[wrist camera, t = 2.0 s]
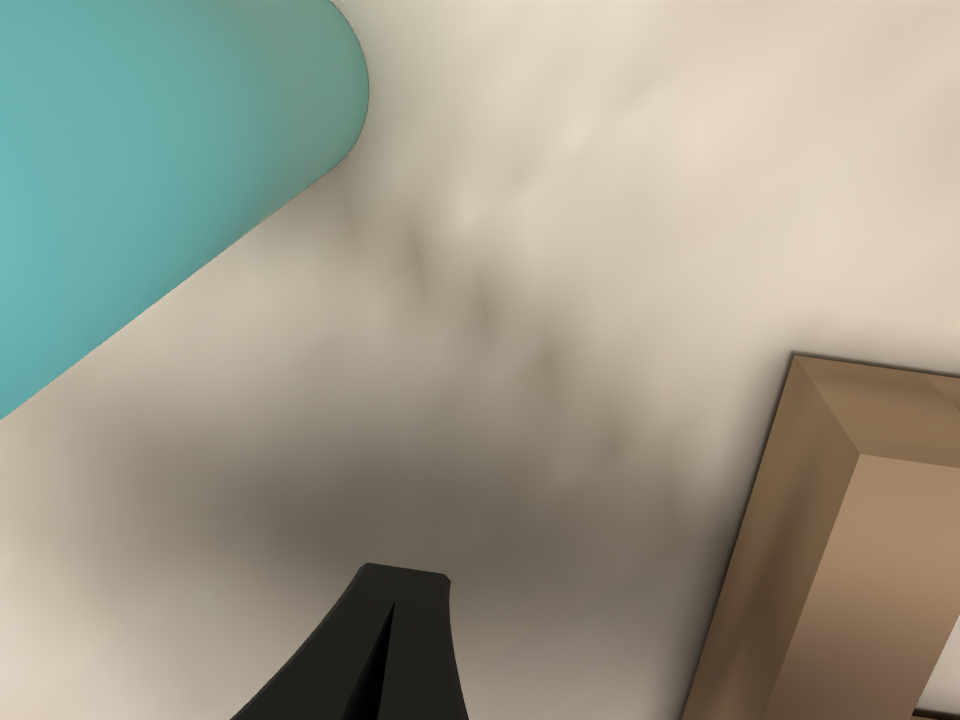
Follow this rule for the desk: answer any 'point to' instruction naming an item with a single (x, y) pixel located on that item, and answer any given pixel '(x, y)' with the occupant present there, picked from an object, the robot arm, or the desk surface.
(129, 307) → the dowel
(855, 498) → the socket block
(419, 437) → the desk surface
